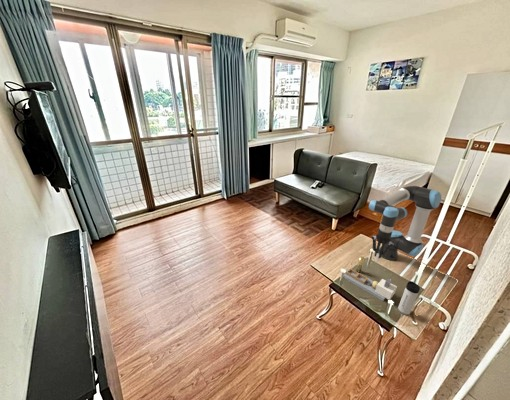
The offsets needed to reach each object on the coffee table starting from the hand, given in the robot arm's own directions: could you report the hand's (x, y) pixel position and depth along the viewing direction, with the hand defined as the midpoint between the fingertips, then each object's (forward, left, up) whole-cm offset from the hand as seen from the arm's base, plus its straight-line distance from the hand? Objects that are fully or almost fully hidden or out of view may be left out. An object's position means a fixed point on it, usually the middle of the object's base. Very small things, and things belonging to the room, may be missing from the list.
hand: (376, 261), depth 147 cm
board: (+3, -2, -19) cm, 20 cm away
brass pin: (-8, -12, -19) cm, 24 cm away
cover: (+3, +11, -17) cm, 20 cm away
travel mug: (+7, +23, -20) cm, 31 cm away
